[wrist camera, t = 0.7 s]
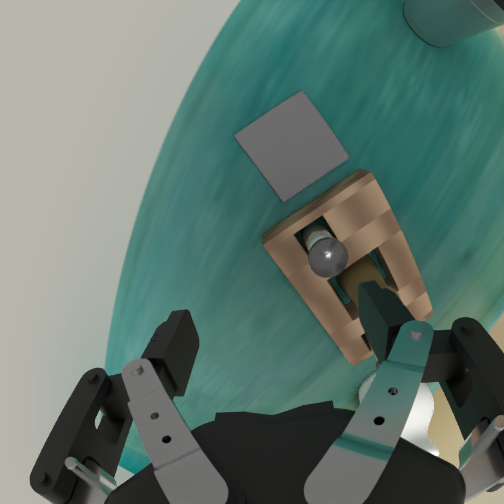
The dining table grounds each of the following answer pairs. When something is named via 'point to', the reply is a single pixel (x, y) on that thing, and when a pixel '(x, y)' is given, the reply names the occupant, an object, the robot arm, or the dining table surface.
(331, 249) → the plunger
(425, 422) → the vase
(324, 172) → the pad
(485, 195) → the dining table surface
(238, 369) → the dining table surface
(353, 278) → the cork
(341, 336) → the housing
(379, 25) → the dining table surface
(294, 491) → the robot arm
